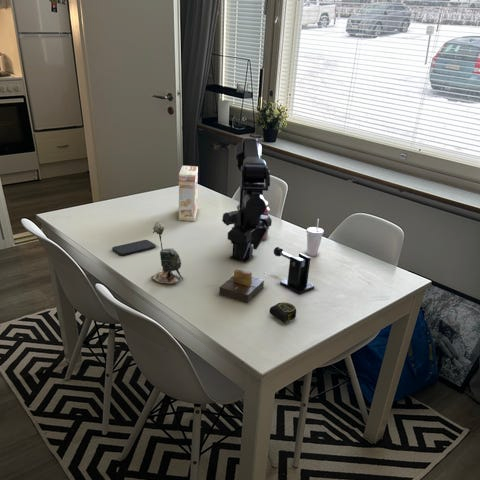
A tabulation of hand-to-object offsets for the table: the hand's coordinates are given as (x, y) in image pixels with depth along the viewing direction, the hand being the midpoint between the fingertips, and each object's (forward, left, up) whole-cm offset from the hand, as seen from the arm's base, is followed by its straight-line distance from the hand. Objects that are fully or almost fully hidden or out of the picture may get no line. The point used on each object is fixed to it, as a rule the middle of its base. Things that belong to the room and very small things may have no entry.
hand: (248, 253), depth 158 cm
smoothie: (+9, +40, -13) cm, 43 cm away
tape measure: (+18, -11, -13) cm, 24 cm away
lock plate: (0, -2, -13) cm, 13 cm away
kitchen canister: (-18, +43, -13) cm, 48 cm away
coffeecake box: (-52, +50, -13) cm, 73 cm away
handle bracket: (+14, +11, -13) cm, 21 cm away
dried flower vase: (-24, -8, -13) cm, 29 cm away
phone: (-49, +7, -12) cm, 51 cm away
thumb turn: (0, -2, -9) cm, 10 cm away
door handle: (+9, +13, -5) cm, 16 cm away
